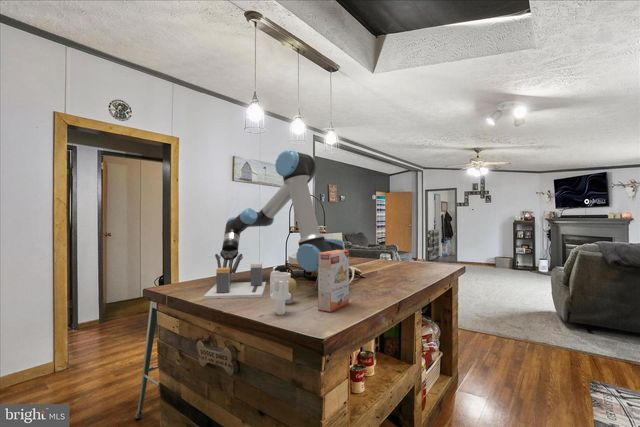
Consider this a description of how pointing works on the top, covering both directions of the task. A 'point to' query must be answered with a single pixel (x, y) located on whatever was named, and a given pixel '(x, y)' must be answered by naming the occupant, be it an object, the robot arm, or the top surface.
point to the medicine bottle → (277, 268)
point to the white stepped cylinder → (280, 290)
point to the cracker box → (333, 280)
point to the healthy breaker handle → (256, 274)
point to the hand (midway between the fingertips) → (224, 285)
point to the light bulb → (291, 289)
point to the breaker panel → (237, 291)
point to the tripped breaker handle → (223, 280)
